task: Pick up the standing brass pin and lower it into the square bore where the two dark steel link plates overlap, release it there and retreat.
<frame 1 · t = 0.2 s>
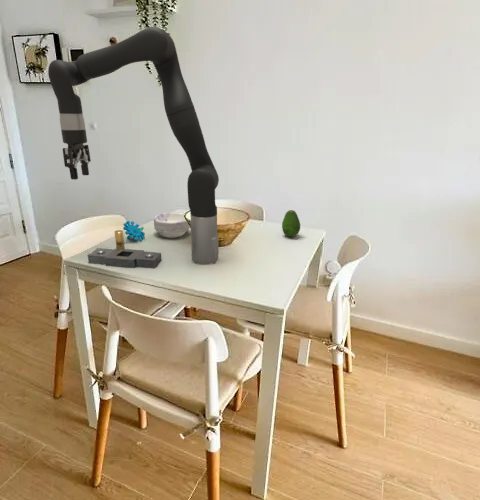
hand: (80, 177, 125), 28 cm above the table, fingers open, 8 cm apart
link plates: (125, 261, 127), on the table
paper bowls: (172, 234, 156), on the table
gear: (135, 239, 149), on the table
pin: (120, 251, 136), on the table
avocado: (290, 237, 156), on the table
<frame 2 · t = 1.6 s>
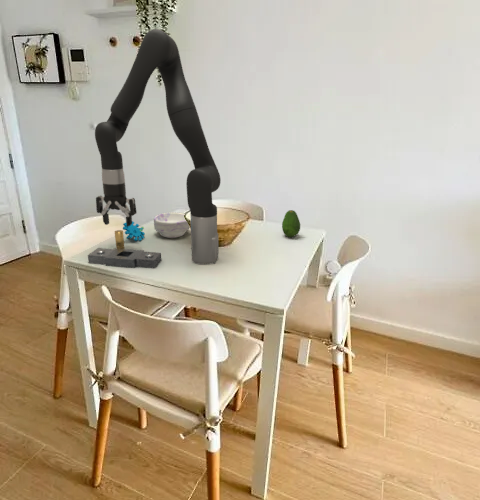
hand: (117, 225, 132), 10 cm above the table, fingers open, 8 cm apart
nothing on the table moved.
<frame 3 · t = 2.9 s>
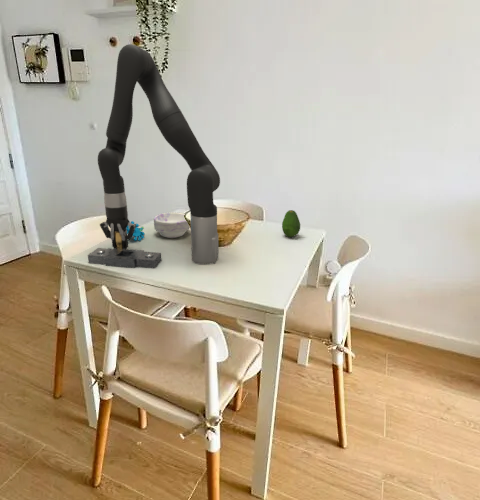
hand: (120, 248, 135), 1 cm above the table, fingers closed on pin, 3 cm apart
pin: (120, 251, 136), on the table, touching gripper
everything else where it was.
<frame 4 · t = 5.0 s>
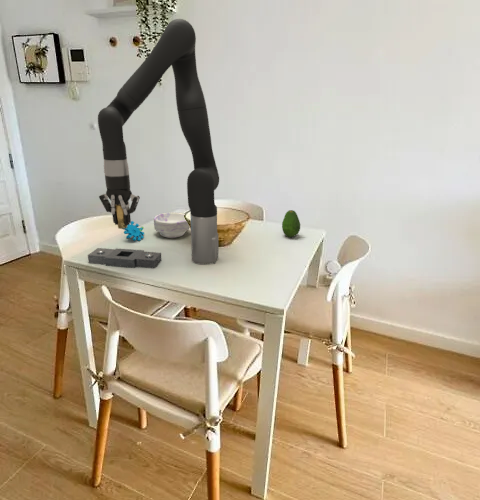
hand: (122, 224, 122), 14 cm above the table, fingers closed on pin, 3 cm apart
pin: (122, 227, 122), point 13 cm above the table, touching gripper
everything else where it was.
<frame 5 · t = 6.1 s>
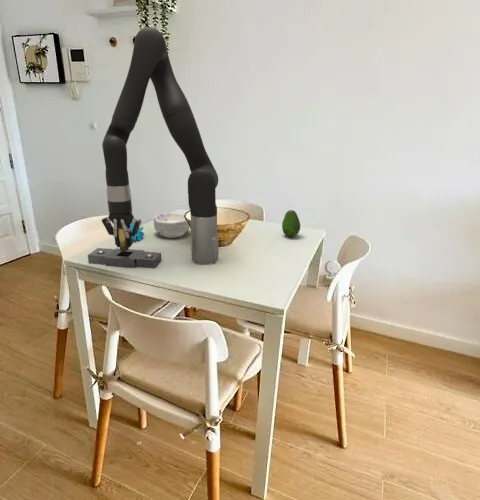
hand: (124, 246, 125), 6 cm above the table, fingers closed on pin, 3 cm apart
pin: (124, 249, 125), point 5 cm above the table, touching gripper
everything else where it was.
when the fingers open (4 cm above the table, at t = 6.7 s): pin drops 3 cm, resting in link plates.
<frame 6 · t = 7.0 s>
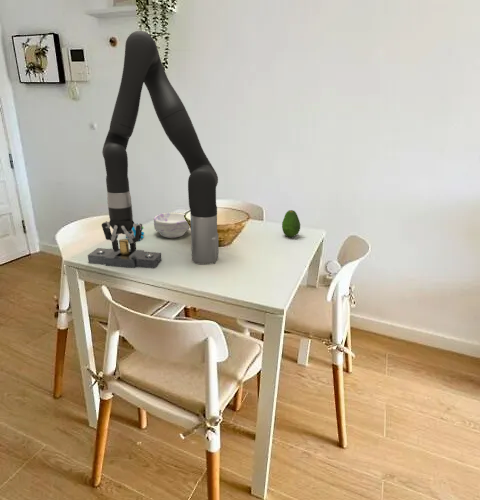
hand: (124, 251, 125), 4 cm above the table, fingers open, 5 cm apart
pin: (125, 261, 127), resting in link plates
everything else where it was.
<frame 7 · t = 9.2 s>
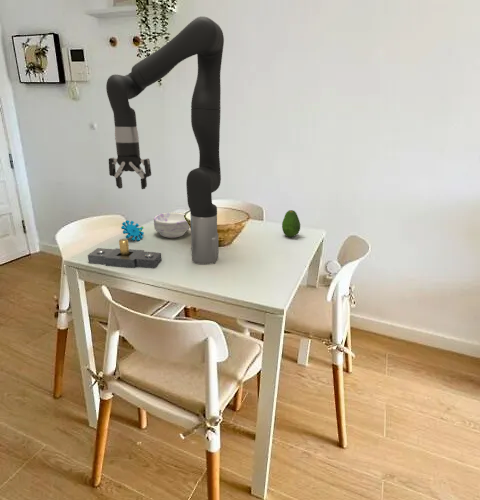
hand: (131, 188, 126), 24 cm above the table, fingers open, 8 cm apart
nothing on the table moved.
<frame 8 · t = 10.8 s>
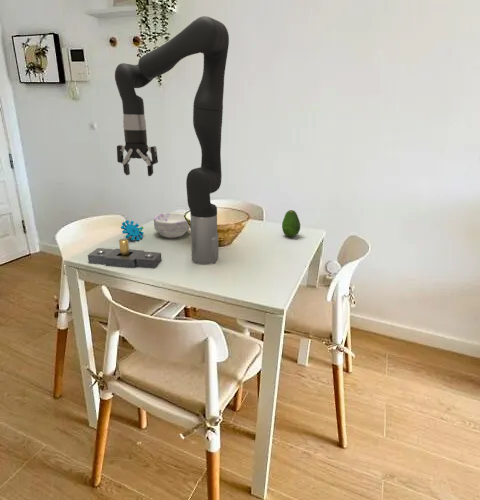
hand: (138, 175, 130), 28 cm above the table, fingers open, 8 cm apart
at the end: pin 0.0 cm off-centre on the link plates, point 0.0 cm above the link plates's base; pin tilted 0°; the gripper is holding nothing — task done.
